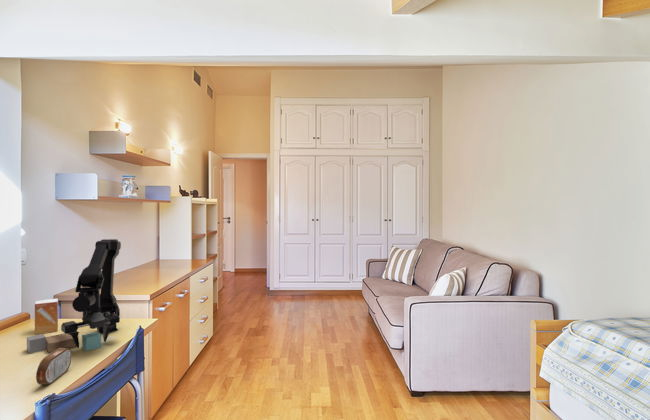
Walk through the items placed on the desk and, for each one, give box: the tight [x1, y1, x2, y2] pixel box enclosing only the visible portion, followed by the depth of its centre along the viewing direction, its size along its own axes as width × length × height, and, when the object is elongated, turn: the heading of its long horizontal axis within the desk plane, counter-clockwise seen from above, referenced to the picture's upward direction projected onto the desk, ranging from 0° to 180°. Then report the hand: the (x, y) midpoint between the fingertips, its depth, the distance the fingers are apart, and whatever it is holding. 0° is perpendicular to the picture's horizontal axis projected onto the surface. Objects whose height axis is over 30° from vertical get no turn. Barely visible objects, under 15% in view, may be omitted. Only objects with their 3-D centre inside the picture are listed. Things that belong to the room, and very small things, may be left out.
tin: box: [35, 348, 72, 386], centre depth 126 cm, size 15×3×8 cm, turn 5°
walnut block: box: [45, 332, 77, 354], centre depth 151 cm, size 9×9×4 cm
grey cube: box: [26, 333, 47, 355], centre depth 148 cm, size 5×5×5 cm
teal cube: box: [81, 331, 102, 352], centre depth 151 cm, size 5×5×5 cm
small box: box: [34, 297, 59, 335], centre depth 169 cm, size 8×6×13 cm
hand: (91, 344), depth 151 cm, fingers open, 9 cm apart
